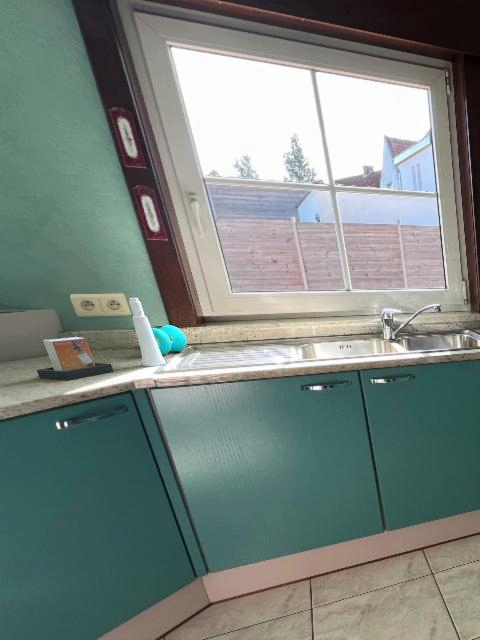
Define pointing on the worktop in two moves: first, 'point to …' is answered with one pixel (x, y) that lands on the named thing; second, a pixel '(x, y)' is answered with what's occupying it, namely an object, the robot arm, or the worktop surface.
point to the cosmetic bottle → (145, 336)
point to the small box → (69, 353)
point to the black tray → (75, 372)
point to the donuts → (165, 341)
